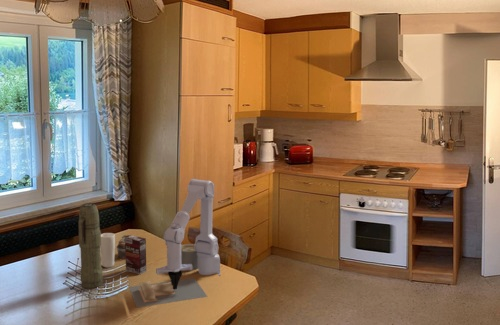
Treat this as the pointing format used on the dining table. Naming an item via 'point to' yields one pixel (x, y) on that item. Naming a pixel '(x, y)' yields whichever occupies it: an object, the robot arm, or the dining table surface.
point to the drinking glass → (108, 249)
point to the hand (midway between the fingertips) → (174, 288)
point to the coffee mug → (189, 256)
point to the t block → (154, 290)
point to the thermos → (90, 246)
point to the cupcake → (122, 247)
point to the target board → (183, 292)
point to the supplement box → (135, 254)
